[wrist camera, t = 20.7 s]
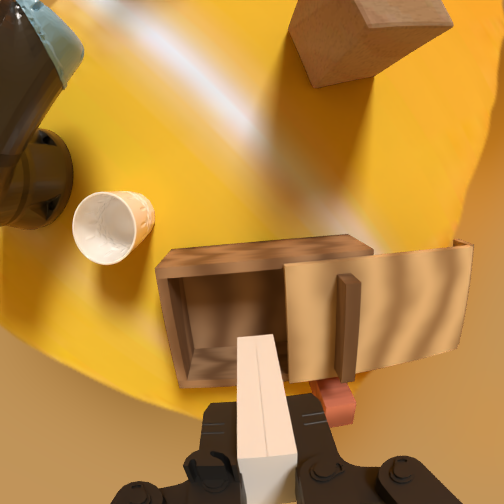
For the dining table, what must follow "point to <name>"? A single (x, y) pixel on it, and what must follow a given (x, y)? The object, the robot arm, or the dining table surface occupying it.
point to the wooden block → (361, 35)
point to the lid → (374, 310)
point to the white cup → (112, 225)
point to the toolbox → (233, 300)
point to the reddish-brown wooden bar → (335, 400)
